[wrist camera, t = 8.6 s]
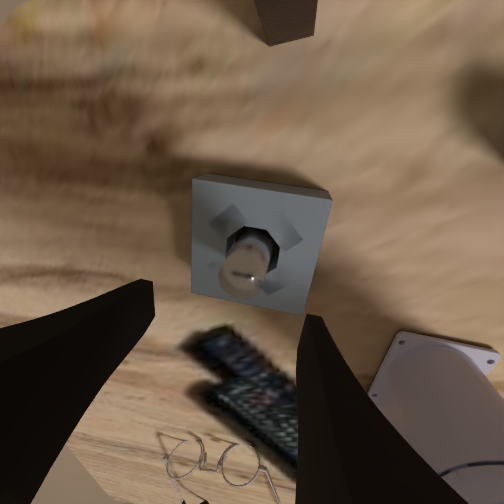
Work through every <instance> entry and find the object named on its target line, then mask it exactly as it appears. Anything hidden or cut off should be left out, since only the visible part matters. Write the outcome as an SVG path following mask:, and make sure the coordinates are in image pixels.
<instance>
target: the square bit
mask: <svg viewBox="0 0 504 504" xmlns="http://www.w3.org/2000/svg"><path fill="white" fill-rule="evenodd" d="M254 2H255V5H256V8H257V11H258V14H259V17H260V20H261V23H262V26H263V29H264V32H265V35H266V38H267V41H268V44H269V46H273V45H277V44H282V43H286V42H290V41H294V40H298V39H302V38H306V37H310V36H314V28H315V20H316V11H317V2H318V0H254Z"/></svg>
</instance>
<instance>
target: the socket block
mask: <svg viewBox="0 0 504 504" xmlns="http://www.w3.org/2000/svg"><path fill="white" fill-rule="evenodd" d="M332 201H333V200H332V198H331V196H330V194H329V192H328V191H324V190H317V189H310V188H303V187H297V186H290V185H283V184H277V183H270V182H263V181H256V180H250V179H243V178H236V177H229V176H223V175H216V174H209V173H207V174H204V175H202V176H199V177H196V178H193V179H192V265H191V293H195V294H200V295H204V296H209V297H214V298H219V299H224V300H228V301H233V302H238V303H243V304H247V305H252V306H257V307H262V308H267V309H271V310H276V311H281V312H286V313H290V314H295V315H300V316H303V313H304V309H305V305H306V301H307V297H308V293H309V290H310V286H311V282H312V278H313V274H314V270H315V266H316V263H317V259H318V255H319V251H320V247H321V243H322V239H323V236H324V232H325V228H326V224H327V220H328V216H329V212H330V209H331V205H332ZM243 226H247V227H253V228H259V229H265V230H267V231H268V232H269V234H270V235H271V236H272V237H273V239H274V240H275V241H276V243H277V244H278V245H279V247H280V251H279V252H277V253H276V254H274V255H272V256H271V257H270V261H269V264H268V268H267V272H266V276H265V280H264V284H263V287H262V290H261V291H260V293H259V294H258V295H256V296H255V297H253V298H250V299H237V298H234V297H232V296H230V295H228V294H227V293H226V292H225V291H224V290H223V289H222V288H221V286H220V284H219V281H218V273H219V270H220V268H221V266H222V265H223V263H224V261H225V260H226V258H227V257H228V255H229V254H230V252H231V250H232V249H233V247H234V246H235V244H236V243H235V240H236V231H237V230H239V229H240V228H242V227H243Z"/></svg>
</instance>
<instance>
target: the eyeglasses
mask: <svg viewBox="0 0 504 504" xmlns="http://www.w3.org/2000/svg"><path fill="white" fill-rule="evenodd" d="M186 442H189V441H188V440H185V441H183V442H182V443H180V444H179V445H178V446H177V447H176V448H175V449H174V450H173V451H172V453H171V454H170V456H164V457H163V461H164V464H165V466H166V469H167V473H168V475H169V477H170V478H171V479H172V481H173V483H174V485H175V487H176V490H177V492H178V493H179V495H180V497H181V502H182V504H186V503H185V501H184V499H183V498H182V496H181V494H180V492H179V488H178V486H177V483H176V481H175V480H180V479H183V478H185V477H187V476H189V475H190V474H191V473H192V472H193V471H194V470H195V469H196V468H197V466H198V464H200V465H199V470H200V471H201V470H202V471H211V472H219V467H222V474H223V464H224V462H225V460H226V458H227V456H226V455H227V454H228V452H229V451H230V450H232V449H233V448H235V447H237V446H241V445H240V444H235V443H234V444H232V445H230V446H229V447H228V448H227V449H226V450H225V451H224V452H223V454H222V456H221V458H220V460H219V461H218V464H217V466H218V467H217V470H212V469H204V468H201V465H203V462H204V465H206V461H207V453H206V452H205V448H204V445H203V443H202V441H196V442H197V443H199V444H200V443H201V444H202V446H203V456H202V446H201V444H200V446H201V455H200V458H199V461H198V462H197V464H196V466H195V467H194V468H193V469H192V470H191V471H190V472H189V473H188V474H186V475H184V476H182V477H174V476H173V474H172V472H171V469H170V467H169V460H170V458H171V456H172V454H173V453H174V452H175V450H176V449H177V448H178V447H179V446H181V445H182V444H184V443H186ZM249 447H251V448H252V449H253V450H254V451H255V452H256V454H257V456H258V459H259V455H258V453H257V451H256V450H255V448H254V447H252V446H250V445H249ZM225 453H226V454H225ZM201 458H202V460H201ZM259 470H260V471H262V472H265V473H266V474H267V476H268V479H269V481H270V484H271V486H272V489H273V491H274V494H275V496H276V499H277V501H278V504H281V503H280V500H279V498H278V495H277V492H276V490H275V487H274V484H273V482H272V479H271V476H270V474H269V471H268V469H267V467H264V466H263V465H260V459H259V467H258V470H257V473H256V475H255V476H254V478H253V479H252V480H251V481H250V482H248V483H246V484H244V485H234V484H231V483H230V482H229V481H227V479H226V478H225V476H224V474H223V477H224V479H225V481H226V482H227V483H228V484H229V485H230V486H232V487H235V488H242V487H246V486H248V485H249V484H251V483H252V482H253V481H254V480H255V478H256V477H257V475H258V472H259ZM200 504H209V503H208V501H207V500H205V501H203V502H202V503H200Z"/></svg>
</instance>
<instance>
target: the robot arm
mask: <svg viewBox="0 0 504 504" xmlns="http://www.w3.org/2000/svg"><path fill="white" fill-rule="evenodd" d="M154 317H155V307H154V293H153V281H148V280H143V279H139V280H136V281H134V282H131V283H128V284H126V285H124V286H121V287H119V288H117V289H114V290H112V291H109V292H107V293H105V294H102V295H100V296H98V297H95V298H93V299H90V300H88V301H85V302H82V303H80V304H77V305H75V306H72V307H69V308H67V309H64V310H61V311H58V312H55V313H52V314H49V315H46V316H43V317H40V318H36V319H33V320H30V321H26V322H22V323H19V324H15V325H11V326H7V327H3V328H0V504H31V502H32V500H33V499H34V497H35V495H36V493H37V491H38V490H39V488H40V486H41V484H42V483H43V481H44V479H45V477H46V475H47V474H48V472H49V470H50V468H51V466H52V465H53V463H54V462H55V460H56V458H57V457H58V455H59V453H60V452H61V450H62V448H63V447H64V445H65V443H66V442H67V440H68V438H69V437H70V435H71V433H72V432H73V430H74V429H75V427H76V425H77V424H78V422H79V421H80V419H81V418H82V416H83V415H84V413H85V411H86V410H87V408H88V407H89V405H90V404H91V402H92V401H93V399H94V398H95V396H96V395H97V393H98V392H99V391H100V389H101V388H102V386H103V385H104V383H105V382H106V381H107V380H108V378H109V377H110V376H111V374H112V373H113V372H114V371H115V369H116V368H117V367H118V366H119V365H120V363H121V362H122V361H123V360H124V358H125V357H126V356H127V355H128V354H129V352H130V351H131V350H132V349H133V347H134V346H135V345H136V344H137V342H138V341H139V340H140V339H141V337H142V336H143V335H144V333H145V332H146V330H147V329H148V327H149V325H150V324H151V322H152V320H153V319H154ZM399 341H402V342H399ZM500 358H501V355H500V354H499V353H498V351H496V350H493V349H488V348H483V347H478V346H474V345H469V344H464V343H459V342H454V341H449V340H445V339H440V338H435V337H430V336H425V335H420V334H415V333H411V332H406V331H400V332H398V333H397V334H396V336H395V338H394V340H393V342H392V344H391V346H390V348H389V350H388V352H387V354H386V356H385V358H384V361H383V363H382V365H381V367H380V369H379V371H378V373H377V375H376V377H375V379H374V381H373V383H372V385H371V387H370V389H369V391H368V393H366V391H365V390H364V389H363V387H362V386H361V384H360V383H359V382H358V380H357V379H356V377H355V376H354V374H353V372H352V371H351V369H350V368H349V366H348V365H347V363H346V361H345V360H344V358H343V356H342V355H341V353H340V351H339V349H338V348H337V346H336V344H335V342H334V341H333V339H332V337H331V335H330V333H329V331H328V329H327V327H326V325H325V323H324V321H323V319H322V317H321V316H316V315H311V314H307V315H306V318H305V322H304V326H303V330H302V333H301V337H300V341H299V345H298V349H297V363H296V384H297V408H298V459H297V480H296V500H295V504H504V399H503V397H502V396H501V395H500V393H499V392H498V391H497V390H496V388H495V387H494V386H493V385H492V383H491V382H490V381H489V380H488V378H487V377H486V376H487V375H488V374H489V372H490V371H491V370H492V369H493V367H494V366H495V365H496V363H497V362H498V361H499V360H500Z"/></svg>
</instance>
